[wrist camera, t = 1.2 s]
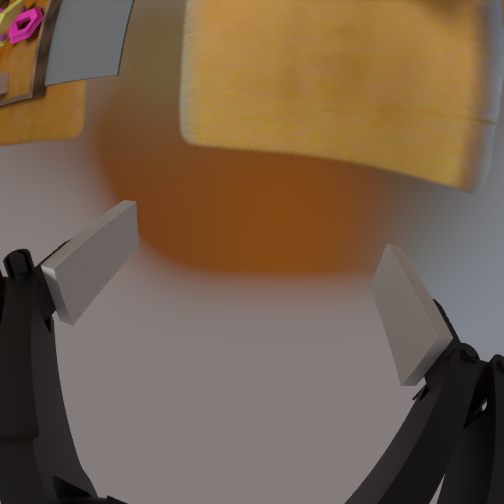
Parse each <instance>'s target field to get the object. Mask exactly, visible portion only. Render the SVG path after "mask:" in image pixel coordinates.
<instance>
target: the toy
mask: <svg viewBox="0 0 504 504" xmlns="http://www.w3.org/2000/svg"><path fill="white" fill-rule="evenodd" d="M29 20H31V21H30V22H29V24H28V25H27V26H26V28H24V29H22V30H20V29H21V27H22V25H23V23H24V22H27V21H29ZM42 20H43V15H42V12H41V9H40V7H37V8H33V9H31V10H28V8H27V7H26V5H25V4H24V2H23V1H22V0H17V1H15V2H14V3H13V4H11V5H10V6H9V7H7V8H6V9H5V10H3V9H0V47H1V46H3V45H5V44H6V43H7V42H8V41H9V40H10V41H11V44H14V43H16V42H18V41H21V40H23V39H26V38H28V37H31V35H32V34H33V32H34V31H35V30H36V28H37V27H38V26H39V24H40V23H41V22H42Z"/></svg>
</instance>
